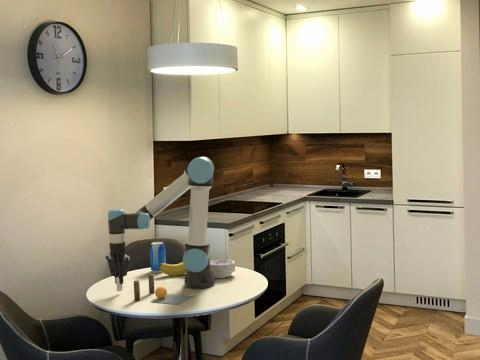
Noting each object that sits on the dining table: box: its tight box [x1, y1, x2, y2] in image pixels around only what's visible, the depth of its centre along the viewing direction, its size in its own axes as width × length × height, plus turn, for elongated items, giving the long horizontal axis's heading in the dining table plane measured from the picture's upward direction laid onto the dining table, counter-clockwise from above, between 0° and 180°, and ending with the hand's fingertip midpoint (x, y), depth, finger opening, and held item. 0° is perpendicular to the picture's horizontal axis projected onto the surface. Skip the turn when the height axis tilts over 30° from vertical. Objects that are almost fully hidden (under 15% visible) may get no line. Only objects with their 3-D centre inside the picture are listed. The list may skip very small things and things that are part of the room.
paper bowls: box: [210, 259, 236, 279], centre depth 317 cm, size 15×15×8 cm
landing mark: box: [151, 293, 194, 306], centre depth 277 cm, size 14×14×1 cm
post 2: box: [147, 273, 156, 295], centre depth 288 cm, size 3×3×9 cm
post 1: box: [133, 279, 141, 302], centre depth 277 cm, size 3×3×9 cm
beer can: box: [149, 241, 167, 274], centre depth 333 cm, size 8×8×16 cm
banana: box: [159, 261, 187, 277], centre depth 323 cm, size 23×6×20 cm, turn 106°
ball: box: [154, 286, 168, 299], centre depth 279 cm, size 6×6×6 cm
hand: (119, 290), depth 288 cm, fingers closed
